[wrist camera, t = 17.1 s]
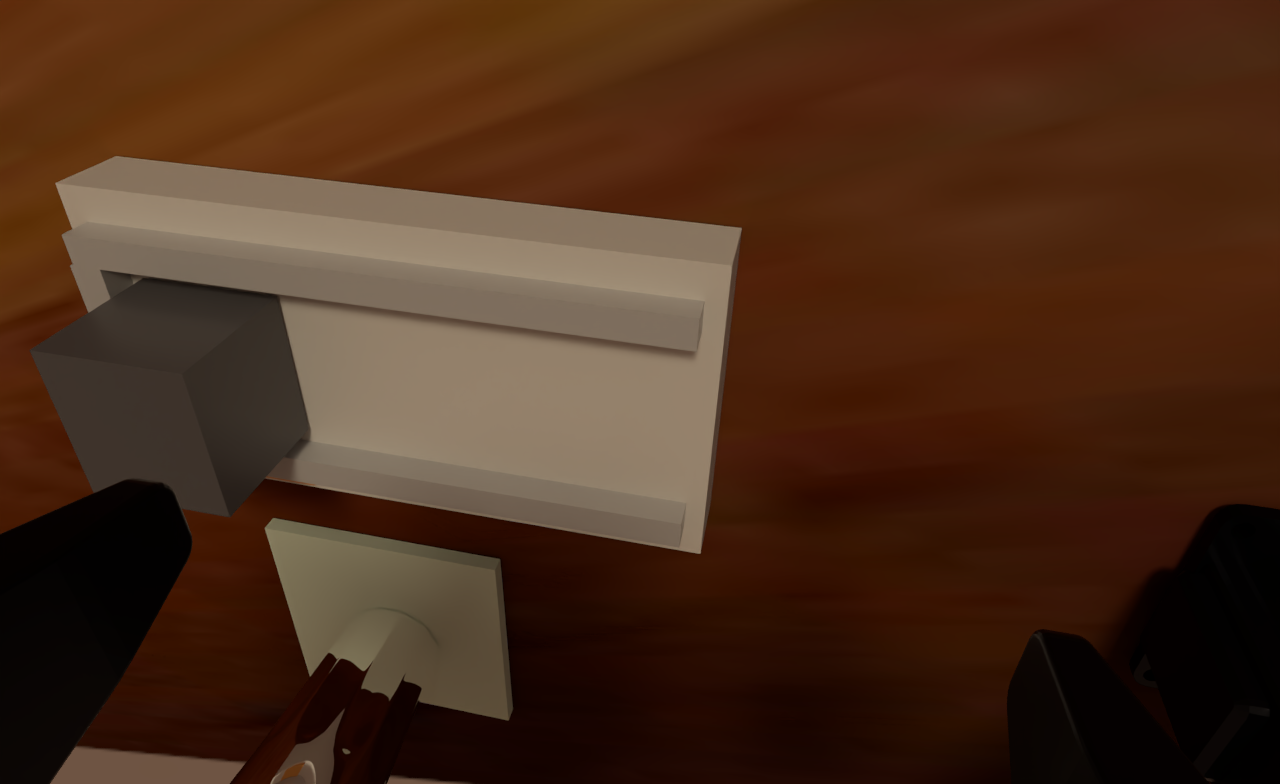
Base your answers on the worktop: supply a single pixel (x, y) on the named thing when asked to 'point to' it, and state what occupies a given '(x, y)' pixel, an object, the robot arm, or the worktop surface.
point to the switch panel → (454, 336)
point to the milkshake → (350, 707)
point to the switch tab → (177, 391)
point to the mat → (401, 605)
